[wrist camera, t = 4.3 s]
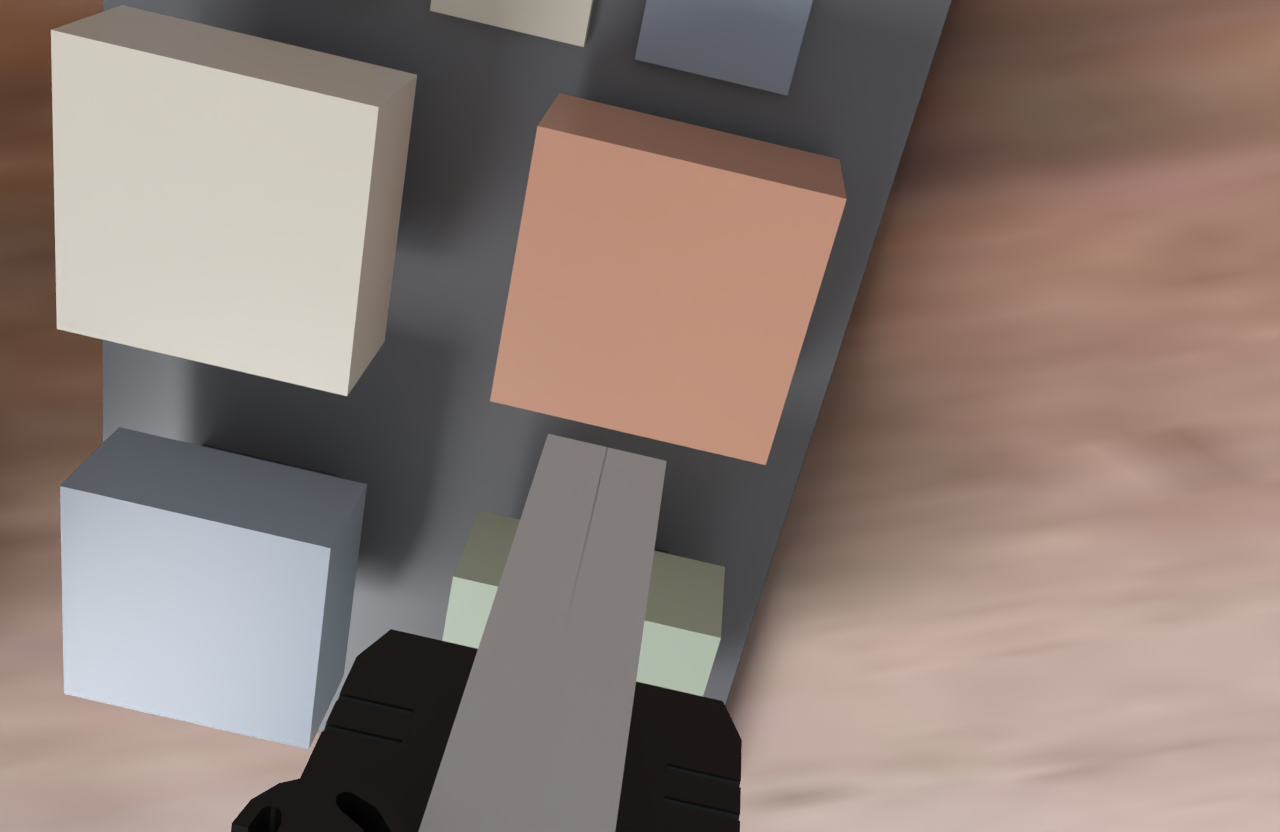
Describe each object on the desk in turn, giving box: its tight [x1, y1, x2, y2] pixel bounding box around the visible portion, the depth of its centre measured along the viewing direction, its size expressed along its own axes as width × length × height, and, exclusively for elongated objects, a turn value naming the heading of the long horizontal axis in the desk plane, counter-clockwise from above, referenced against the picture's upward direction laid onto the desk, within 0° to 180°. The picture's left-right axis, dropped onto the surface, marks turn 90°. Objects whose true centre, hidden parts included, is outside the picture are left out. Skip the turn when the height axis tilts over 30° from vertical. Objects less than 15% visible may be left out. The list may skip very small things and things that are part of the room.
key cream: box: [51, 5, 417, 396], centre depth 22 cm, size 6×6×2 cm
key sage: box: [442, 510, 725, 696], centre depth 27 cm, size 6×6×2 cm
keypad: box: [103, 0, 952, 732], centre depth 27 cm, size 16×22×3 cm
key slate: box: [60, 427, 367, 749], centre depth 27 cm, size 6×6×2 cm
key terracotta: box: [490, 93, 847, 465], centre depth 23 cm, size 6×6×2 cm
